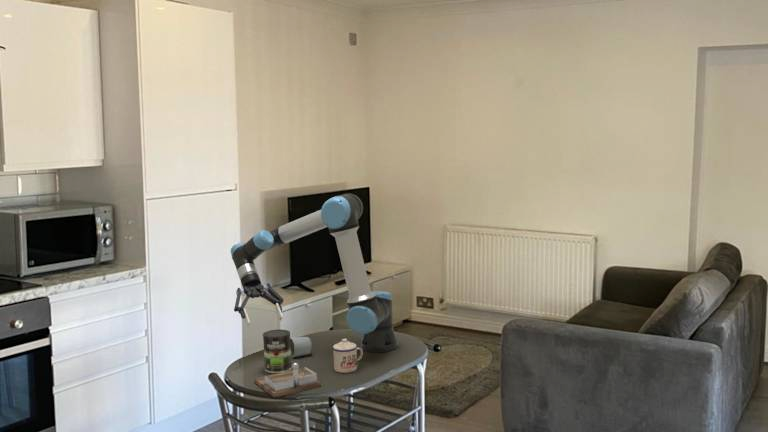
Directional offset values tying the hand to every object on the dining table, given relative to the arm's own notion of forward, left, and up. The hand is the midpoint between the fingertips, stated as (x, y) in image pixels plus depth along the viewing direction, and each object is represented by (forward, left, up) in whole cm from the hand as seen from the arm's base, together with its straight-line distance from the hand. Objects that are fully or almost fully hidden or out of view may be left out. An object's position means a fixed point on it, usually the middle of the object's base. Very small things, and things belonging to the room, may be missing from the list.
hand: (265, 321), depth 299 cm
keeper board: (-16, +24, -16) cm, 33 cm away
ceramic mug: (-10, -10, -16) cm, 21 cm away
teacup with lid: (-34, +5, -16) cm, 38 cm away
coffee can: (-7, +8, -16) cm, 20 cm away
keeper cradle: (-19, +27, -15) cm, 36 cm away
